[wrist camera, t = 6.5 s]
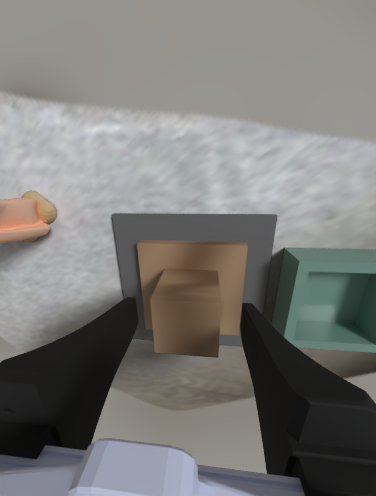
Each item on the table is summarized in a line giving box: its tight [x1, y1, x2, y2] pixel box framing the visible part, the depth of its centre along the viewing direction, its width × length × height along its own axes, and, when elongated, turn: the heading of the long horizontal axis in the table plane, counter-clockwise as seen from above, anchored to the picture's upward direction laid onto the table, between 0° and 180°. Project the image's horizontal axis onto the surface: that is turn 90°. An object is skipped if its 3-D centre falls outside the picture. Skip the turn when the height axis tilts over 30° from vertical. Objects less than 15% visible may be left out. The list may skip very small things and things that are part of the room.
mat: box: [112, 214, 277, 347], centre depth 16 cm, size 12×12×1 cm
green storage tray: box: [272, 248, 376, 353], centre depth 14 cm, size 7×7×2 cm
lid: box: [137, 240, 248, 358], centre depth 13 cm, size 8×8×5 cm
